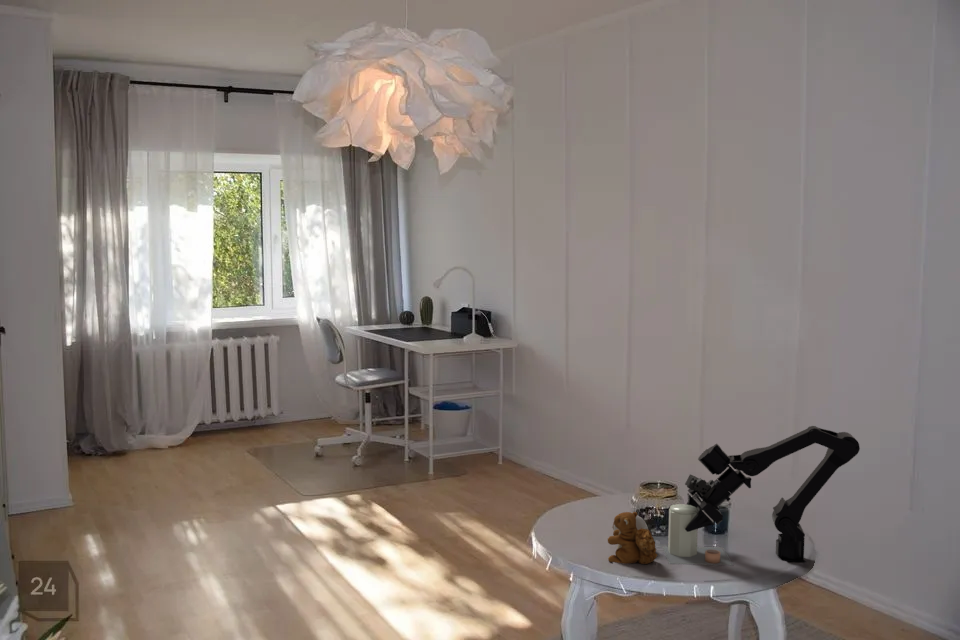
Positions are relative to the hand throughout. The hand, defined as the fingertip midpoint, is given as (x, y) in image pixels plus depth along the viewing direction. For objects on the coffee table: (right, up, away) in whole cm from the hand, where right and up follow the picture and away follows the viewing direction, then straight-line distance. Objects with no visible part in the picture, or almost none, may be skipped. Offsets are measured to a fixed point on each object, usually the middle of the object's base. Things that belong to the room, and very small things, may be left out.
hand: (682, 525), depth 249 cm
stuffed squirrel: (-14, -9, -5) cm, 18 cm away
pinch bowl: (+7, -8, -6) cm, 12 cm away
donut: (-14, -8, +5) cm, 16 cm away
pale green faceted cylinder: (0, -8, +1) cm, 8 cm away
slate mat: (+3, -8, -2) cm, 9 cm away
